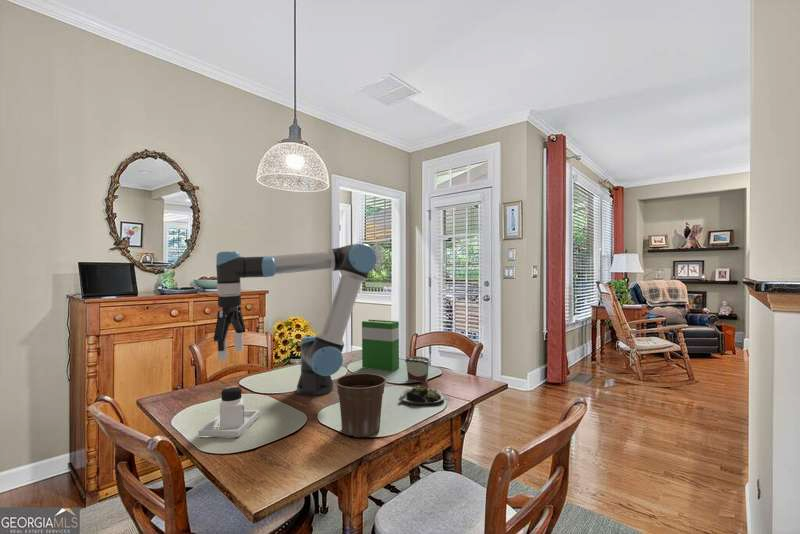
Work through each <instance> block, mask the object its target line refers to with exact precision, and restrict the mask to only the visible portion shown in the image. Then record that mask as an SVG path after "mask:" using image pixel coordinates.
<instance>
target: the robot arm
mask: <svg viewBox="0 0 800 534" xmlns="http://www.w3.org/2000/svg"><path fill="white" fill-rule="evenodd" d="M377 259H378V257H377V253H376V251H375V249H374V248H373V247H372V246H371V245H369V244H366V243H363V242H359V243H355V244H347V245H344V246H340V247H335V248H329V249H328V250H327V251H316V252H305V253H293V254H281V255H279V254H278V255H267V256H266V255H265V256H241V255H240V252H239V251H219V252H217V254H216V283H217V286H216V290H217V295H218V297H217V306H218V308H222V309H221V310H218V311H217V315H216V316H217V320H216V323H215V324H216V325H215V328H214V334H213V341H214V342H217V361H228V348H227V347H228V345H227V344H228V343H227V340H226V338H227V335H228V331H229V328H230V325H232V327H233V329H234V352H235V351H236V352H239V351H240V352H241V351H244V339H243V338H244V334H243V333H246V326H245V321H244V318H243V313H242V307H241V306H242V297H241V295H240V294H241V293H242V286H241V279H244V278H246V279H248V278H269V277H274V276H275V275H282V274H292V273H301V272H310V271H311V272H313V271H323V270H330V271H331V272H335V271H339V273H340V275H341V276H340V280H339V282H338V285H337V288H336V290H335V293H334V297H333V299H332V302H331V305H330V307H329V310H328V313H327V316H326V319H325V322H324V325H323V328H322V330H321V332H320V333H319V334H316V335H310V336H303V337H302V338H301V339H300V345H299V346H300V375H299V378H298V382H297V384H296V392H297V394H299V395H301V396H307V397H309V396H310V397H311V396H312V397H314V396H322V395H326V394H329V393H331V392H332V391H333V390H334V382H333V379H332V377H331V376H332V375H334V374H336V373H337V372H338V371H339V370H341V368H342V365H343V362H344V361H343V360H344V359H343V358H344V357H343V354H342V352H343V349H344V346H345V343H344V341H343V338H344V334H345V332H346V329H347V326H348V323H349V320H350V318H351V314H352V312H353V309H354V306H355V302H356V299H357V297H358V294H359V291H360V288H361V285H362V283H363V282H365V281H367V280H368V277H369V273H370V272H372V271H373V270H374V269H375V268H376V267H375V266H376V265H377Z"/></svg>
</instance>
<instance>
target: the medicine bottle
mask: <svg viewBox="0 0 800 534" xmlns="http://www.w3.org/2000/svg"><path fill="white" fill-rule="evenodd" d="M244 410H245V403H244V399H243V397H242V388H241V387H239V386H228V387H226V388H222V390H221V400H220V401H219V414H220V430H224V429H230V428H236V427H241V426H242V425H243V424H244Z"/></svg>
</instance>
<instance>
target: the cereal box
mask: <svg viewBox="0 0 800 534" xmlns="http://www.w3.org/2000/svg"><path fill="white" fill-rule="evenodd" d="M399 325H400V323H399V321H397V320H396V321H395V320H382V319H368V320H367V321H365V320H363V321H361V352H362V353H361V356H362V357H361V360H362V362H361V367H364V369H369V368H371V369H370V370H378V371H383V372H385V371H386V372H394V371H396V370H398V369H399V368H400V328H399V327H400V326H399Z"/></svg>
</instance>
